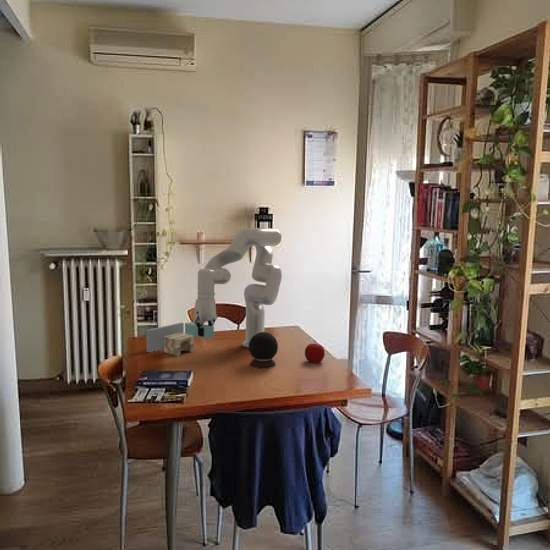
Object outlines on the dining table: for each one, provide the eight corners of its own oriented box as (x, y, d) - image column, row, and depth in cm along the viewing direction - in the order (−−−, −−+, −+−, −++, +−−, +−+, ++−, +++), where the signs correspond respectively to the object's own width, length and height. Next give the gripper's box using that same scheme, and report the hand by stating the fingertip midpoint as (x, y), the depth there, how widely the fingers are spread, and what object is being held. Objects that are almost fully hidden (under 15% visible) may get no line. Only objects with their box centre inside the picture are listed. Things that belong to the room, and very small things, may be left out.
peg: (213, 337, 244) (213, 326, 244) (205, 338, 241) (205, 328, 240) (192, 331, 253) (193, 321, 253) (184, 333, 249) (185, 323, 249)
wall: (183, 344, 272) (183, 323, 270) (148, 353, 255) (148, 330, 253) (181, 343, 273) (181, 322, 271) (146, 352, 256) (146, 330, 254)
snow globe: (258, 358, 249) (259, 327, 247) (282, 363, 243) (283, 331, 241) (242, 365, 238) (243, 333, 236) (267, 371, 231) (268, 337, 229)
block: (194, 351, 259) (194, 335, 258) (176, 355, 251) (176, 339, 249) (181, 347, 265) (181, 332, 264) (164, 352, 256) (164, 336, 255)
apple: (301, 362, 244) (301, 341, 243) (309, 358, 252) (309, 337, 251) (319, 366, 240) (320, 344, 238) (327, 361, 248) (328, 340, 246)
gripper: (213, 293, 251) (212, 330, 253) (186, 297, 238) (185, 336, 240) (224, 295, 246) (224, 333, 249) (197, 299, 233) (197, 339, 235)
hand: (205, 334), depth 244 cm, fingers closed on peg, 5 cm apart
